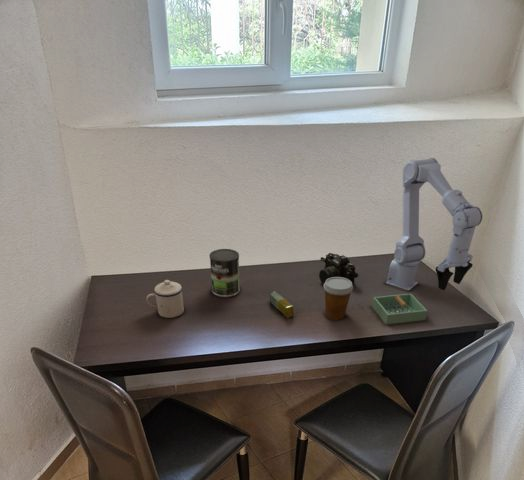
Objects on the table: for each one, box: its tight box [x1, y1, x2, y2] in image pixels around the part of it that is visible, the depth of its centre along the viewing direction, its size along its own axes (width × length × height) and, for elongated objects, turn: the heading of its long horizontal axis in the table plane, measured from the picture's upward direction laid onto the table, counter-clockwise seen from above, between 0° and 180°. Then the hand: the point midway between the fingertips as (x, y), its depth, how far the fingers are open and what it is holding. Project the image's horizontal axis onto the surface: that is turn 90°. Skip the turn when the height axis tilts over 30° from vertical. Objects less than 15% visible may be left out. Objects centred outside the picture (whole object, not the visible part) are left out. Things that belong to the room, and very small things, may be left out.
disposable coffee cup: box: [322, 277, 354, 321], centre depth 152 cm, size 10×10×12 cm
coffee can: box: [209, 248, 241, 298], centre depth 165 cm, size 10×10×14 cm
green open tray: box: [371, 292, 428, 325], centre depth 155 cm, size 14×12×4 cm
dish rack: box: [384, 294, 413, 313], centre depth 154 cm, size 8×7×5 cm
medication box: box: [269, 290, 295, 318], centre depth 157 cm, size 12×3×4 cm, turn 28°
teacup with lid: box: [146, 279, 185, 319], centre depth 153 cm, size 12×9×12 cm
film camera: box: [318, 252, 359, 287], centre depth 172 cm, size 18×12×10 cm
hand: (449, 285), depth 152 cm, fingers open, 7 cm apart
